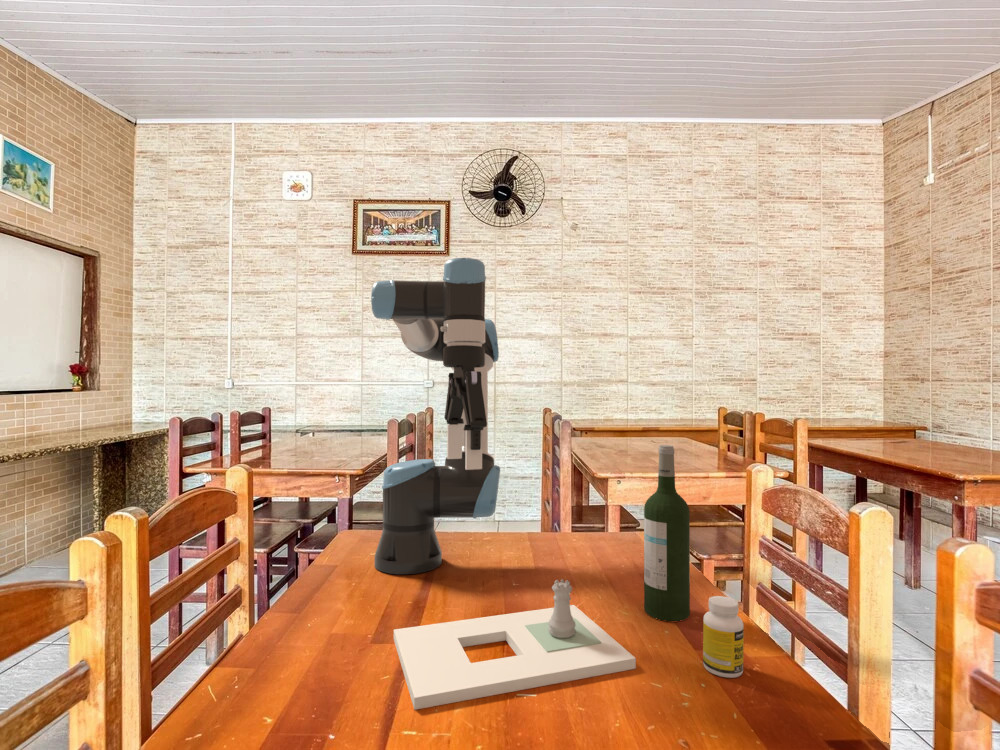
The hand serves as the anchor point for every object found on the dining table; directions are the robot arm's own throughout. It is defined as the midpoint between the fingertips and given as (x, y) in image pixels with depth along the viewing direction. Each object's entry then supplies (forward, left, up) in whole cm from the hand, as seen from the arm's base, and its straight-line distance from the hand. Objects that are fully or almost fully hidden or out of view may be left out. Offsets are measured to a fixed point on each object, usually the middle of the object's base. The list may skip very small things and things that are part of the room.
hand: (463, 463), depth 97 cm
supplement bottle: (+30, +31, -27) cm, 51 cm away
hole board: (+16, +3, -27) cm, 31 cm away
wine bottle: (+11, +35, -27) cm, 45 cm away
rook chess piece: (+16, +12, -25) cm, 32 cm away
